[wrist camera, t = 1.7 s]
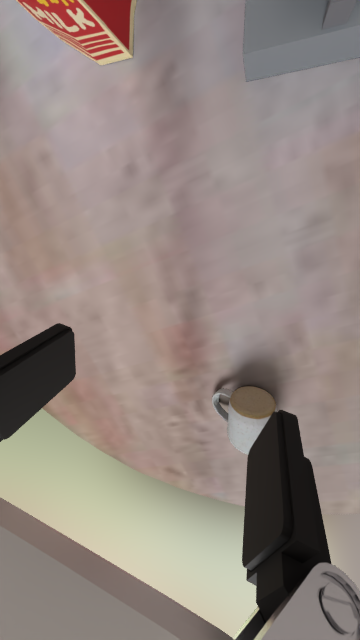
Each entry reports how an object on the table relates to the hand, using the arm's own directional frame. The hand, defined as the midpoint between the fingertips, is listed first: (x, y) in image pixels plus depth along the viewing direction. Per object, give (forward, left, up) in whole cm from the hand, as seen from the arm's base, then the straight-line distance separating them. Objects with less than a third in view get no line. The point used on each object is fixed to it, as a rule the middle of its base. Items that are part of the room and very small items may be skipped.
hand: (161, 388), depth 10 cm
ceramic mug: (-4, +24, -25) cm, 35 cm away
